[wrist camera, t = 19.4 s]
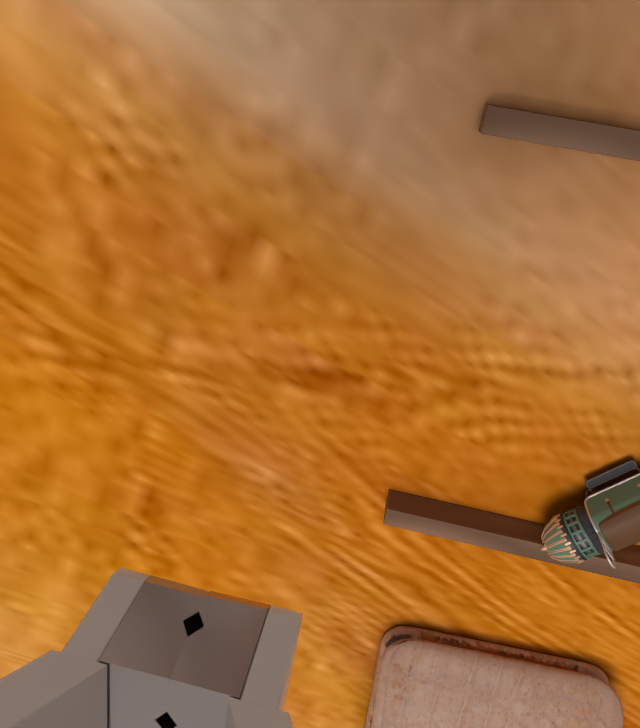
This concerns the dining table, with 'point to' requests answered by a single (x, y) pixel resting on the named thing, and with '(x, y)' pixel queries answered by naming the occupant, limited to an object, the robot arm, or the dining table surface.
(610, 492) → the hoverbike
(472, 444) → the dining table surface
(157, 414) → the dining table surface
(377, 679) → the case
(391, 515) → the brown flat square frame
